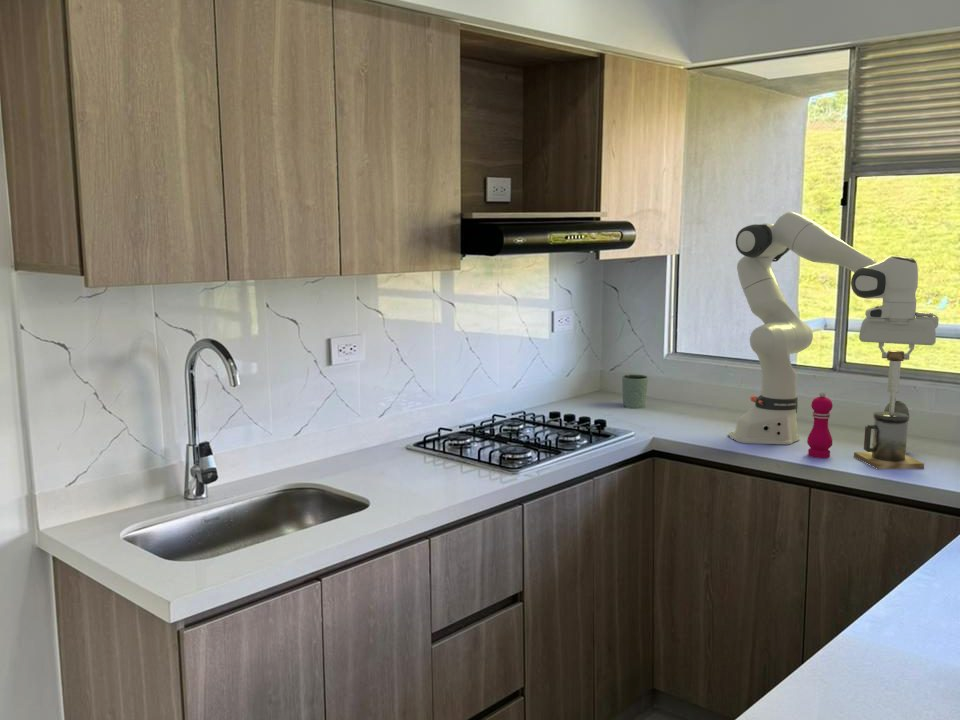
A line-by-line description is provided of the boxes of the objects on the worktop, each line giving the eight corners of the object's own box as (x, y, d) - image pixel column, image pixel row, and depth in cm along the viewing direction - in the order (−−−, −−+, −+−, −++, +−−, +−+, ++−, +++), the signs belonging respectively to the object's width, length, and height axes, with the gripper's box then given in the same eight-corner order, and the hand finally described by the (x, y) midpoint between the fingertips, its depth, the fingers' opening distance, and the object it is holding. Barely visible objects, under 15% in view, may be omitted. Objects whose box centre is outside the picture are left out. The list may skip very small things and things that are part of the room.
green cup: (632, 402, 347) (633, 373, 345) (652, 406, 339) (653, 376, 337) (616, 406, 340) (616, 376, 339) (635, 410, 333) (636, 379, 331)
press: (872, 462, 252) (877, 386, 248) (856, 453, 261) (861, 380, 258) (912, 461, 252) (918, 386, 249) (895, 453, 262) (900, 380, 258)
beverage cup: (909, 452, 268) (914, 389, 265) (884, 451, 270) (888, 388, 267) (903, 447, 275) (907, 385, 272) (878, 446, 277) (882, 384, 274)
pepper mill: (811, 451, 270) (814, 388, 267) (834, 455, 265) (838, 391, 262) (803, 456, 264) (806, 392, 261) (827, 460, 260) (831, 395, 257)
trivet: (877, 469, 250) (877, 464, 249) (853, 456, 264) (854, 452, 263) (924, 468, 250) (924, 463, 250) (898, 456, 264) (898, 451, 264)
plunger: (889, 393, 252) (892, 352, 250) (881, 390, 256) (884, 350, 254) (904, 393, 252) (907, 352, 250) (896, 390, 256) (899, 350, 254)
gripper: (938, 312, 249) (935, 359, 251) (861, 309, 258) (858, 355, 260) (939, 314, 243) (935, 362, 245) (860, 311, 252) (857, 358, 254)
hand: (895, 358), depth 252 cm, fingers closed on plunger, 4 cm apart
